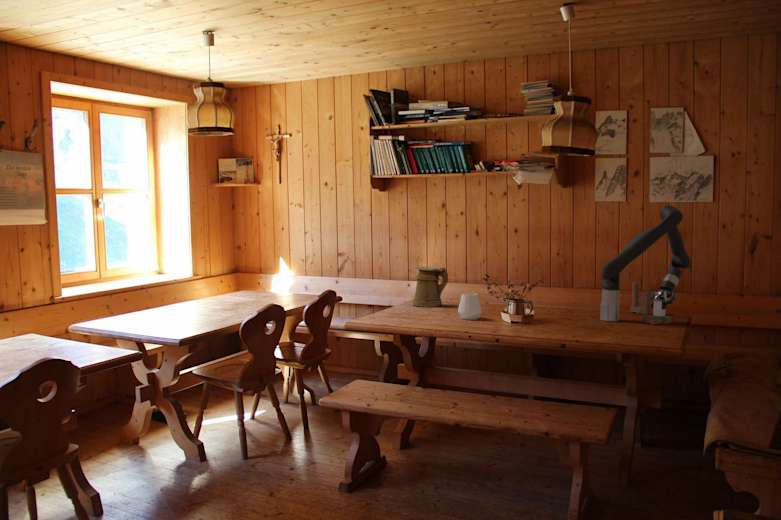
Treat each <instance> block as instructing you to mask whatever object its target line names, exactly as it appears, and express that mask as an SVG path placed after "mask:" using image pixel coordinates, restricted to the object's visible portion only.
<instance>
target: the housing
mask: <svg viewBox="0 0 781 520" xmlns="http://www.w3.org/2000/svg"><path fill="white" fill-rule="evenodd" d="M653 301H654V306H653V308H652V314H653V315H652V317H654V318H666V316H667V315H666V308H665V309H664V310H663V309H662V305H663V303H664V302H665V299H660V298H659V297H658V298H657V299H653Z"/></svg>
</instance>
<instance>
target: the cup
mask: <svg viewBox="0 0 781 520" xmlns="http://www.w3.org/2000/svg"><path fill="white" fill-rule="evenodd" d="M478 295H479V294H478V293H474V292H473V293H472V292H470V293H469V292H466V293H462V294H461V297H460V301H459V305H458V307H457V309H458V310H457V313H458V314H459V316H460V318H461V319H462V320H464V321H465V320H466V321H468V320H469V321H472V320H478V319H479V317H480V316H481V314H482V307H481V302H480V300H479V299H480V298H479V296H478Z"/></svg>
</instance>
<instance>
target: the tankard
mask: <svg viewBox="0 0 781 520" xmlns="http://www.w3.org/2000/svg"><path fill="white" fill-rule="evenodd" d="M416 269H417V270H418V273H417V274H416V279H417V281H416V284H415V293H414V298H413V299H412V306H415V307H421V308H422V307H423V308H424V307H425V308H437V307H440V306H441V305H442V304H443V303H442V299H441V295H442V293H443V291H444V290H445V288H446V286H447V284H448V281H449V274H448V271H447V270H446V267H431V266H417V267H416ZM440 277H441V279H442V280H441V282H440V283H439V280H440Z"/></svg>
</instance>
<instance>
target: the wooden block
mask: <svg viewBox="0 0 781 520" xmlns="http://www.w3.org/2000/svg"><path fill="white" fill-rule="evenodd" d="M631 286H632V291H631V294H632V295H631V297H632V298H631V306H630V313H631V312H636V313H635V314H639V313H644V314H643V315H645V314H648V315H650V314H651V300H650V297H651V294H652V291H651V290H646V291H645V292H644V293H643V294H642V295H641V296H640V295H639V292H640V282H638V281H637V282H632V285H631ZM639 296H640V297H639ZM639 302H640V303H641V306H639ZM649 313H650V314H649Z"/></svg>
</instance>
